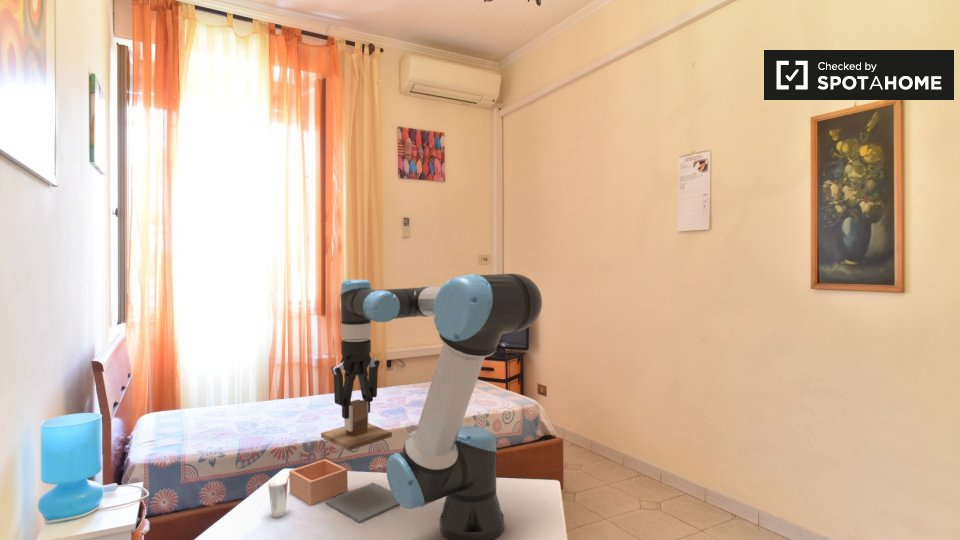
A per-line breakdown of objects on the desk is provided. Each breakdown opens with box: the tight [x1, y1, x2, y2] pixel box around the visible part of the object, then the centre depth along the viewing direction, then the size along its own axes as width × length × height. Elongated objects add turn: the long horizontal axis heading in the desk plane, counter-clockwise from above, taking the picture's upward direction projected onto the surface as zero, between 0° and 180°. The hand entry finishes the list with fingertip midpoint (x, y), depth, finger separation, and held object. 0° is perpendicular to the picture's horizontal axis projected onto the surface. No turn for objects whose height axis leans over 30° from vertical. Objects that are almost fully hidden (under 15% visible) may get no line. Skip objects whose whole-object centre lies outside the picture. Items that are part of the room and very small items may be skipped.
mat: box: [324, 482, 401, 524], centre depth 136 cm, size 15×15×1 cm
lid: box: [320, 399, 393, 452], centre depth 137 cm, size 13×13×9 cm
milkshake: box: [267, 474, 290, 518], centre depth 130 cm, size 4×5×10 cm
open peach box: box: [288, 458, 349, 506], centre depth 142 cm, size 11×11×6 cm
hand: (356, 427), depth 137 cm, fingers closed on lid, 4 cm apart
